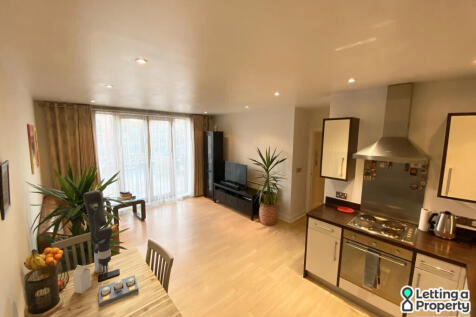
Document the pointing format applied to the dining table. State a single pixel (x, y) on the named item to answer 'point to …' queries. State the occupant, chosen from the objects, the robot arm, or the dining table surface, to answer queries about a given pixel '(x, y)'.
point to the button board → (117, 291)
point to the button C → (130, 282)
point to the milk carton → (81, 279)
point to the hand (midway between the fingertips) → (105, 277)
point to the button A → (105, 291)
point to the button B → (118, 284)
